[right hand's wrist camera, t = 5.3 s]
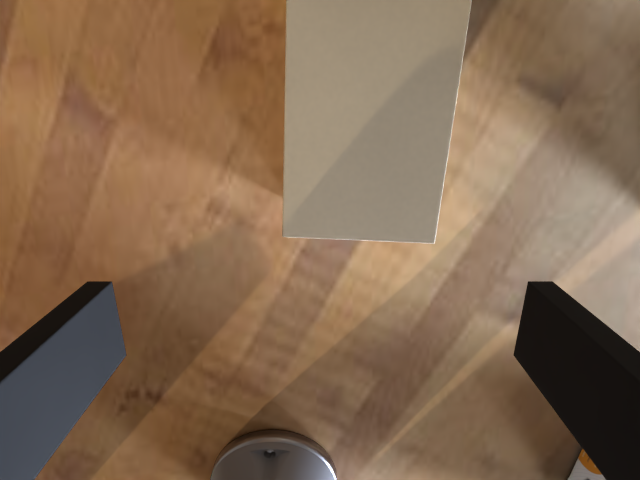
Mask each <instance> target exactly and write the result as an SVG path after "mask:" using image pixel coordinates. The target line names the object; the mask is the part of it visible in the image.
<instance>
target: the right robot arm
mask: <svg viewBox="0 0 640 480" xmlns="http://www.w3.org/2000/svg"><path fill="white" fill-rule="evenodd" d="M125 356H126V351H125V346H124V341H123V336H122V330H121V325H120V320H119V315H118V310H117V305H116V300H115V295H114V290H113V285H112V282H87V283H85V284H84V285H83V286H82V287H80V288H79V289H78V290H77V291H75V292H74V293H73V294H72V295H70V296H69V297H68V298H67V299H65V300H64V301H63V302H62V303H61V304H59V305H58V306H57V307H56V308H54V309H53V310H52V311H51V312H49V313H48V314H47V315H46V316H44V317H43V318H42V319H41V320H39V321H38V322H37V323H36V324H35V325H33V326H32V327H31V328H30V329H28V330H27V331H26V332H25V333H23V334H22V335H21V336H20V337H18V338H17V339H16V340H15V341H14V342H12V343H11V344H10V345H9V346H7V347H6V348H5V349H4V350H2V351H1V352H0V480H34V479H35V478H36V476H37V475H38V474H39V472H40V471H41V470H42V468H43V467H44V466H45V464H46V463H47V462H48V460H49V459H50V458H51V456H52V455H53V453H54V452H55V451H56V449H57V448H58V447H59V445H60V444H61V443H62V441H63V440H64V439H65V437H66V436H67V435H68V433H69V432H70V431H71V429H72V428H73V426H74V425H75V424H76V422H77V421H78V420H79V418H80V417H81V416H82V414H83V413H84V412H85V410H86V409H87V408H88V406H89V405H90V404H91V402H92V401H93V399H94V398H95V397H96V395H97V394H98V393H99V391H100V390H101V389H102V387H103V386H104V385H105V383H106V382H107V381H108V379H109V378H110V377H111V375H112V374H113V372H114V371H115V370H116V368H117V367H118V366H119V364H120V363H121V362H122V360H123V359H124V358H125ZM514 356H515V358H516V359H517V360H518V362H519V363H520V364H521V366H522V367H523V368H524V370H525V371H526V373H527V374H528V375H529V377H530V378H531V379H532V381H533V382H534V383H535V385H536V386H537V387H538V389H539V390H540V391H541V393H542V394H543V395H544V397H545V398H546V399H547V401H548V402H549V404H550V405H551V406H552V408H553V409H554V410H555V412H556V413H557V414H558V416H559V417H560V418H561V420H562V421H563V422H564V424H565V425H566V426H567V428H568V429H569V431H570V432H571V433H572V435H573V436H574V437H575V439H576V440H577V441H578V443H579V444H580V445H581V447H582V448H583V449H584V451H585V452H586V453H587V455H588V456H589V458H590V459H591V460H592V462H593V463H594V464H595V466H596V467H597V468H598V470H599V471H600V472H601V474H602V475H603V476H604V478H605V479H606V480H640V352H639V351H638V350H636V349H635V348H634V347H633V346H631V345H630V344H629V343H628V342H626V341H625V340H624V339H623V338H622V337H620V336H619V335H618V334H617V333H615V332H614V331H613V330H612V329H610V328H609V327H608V326H607V325H605V324H604V323H603V322H602V321H601V320H599V319H598V318H597V317H596V316H594V315H593V314H592V313H591V312H589V311H588V310H587V309H586V308H584V307H583V306H582V305H581V304H579V303H578V302H577V301H576V300H575V299H573V298H572V297H571V296H570V295H568V294H567V293H566V292H565V291H563V290H562V289H561V288H560V287H558V286H557V285H556V284H555V283H553V282H528V285H527V290H526V295H525V300H524V305H523V310H522V315H521V320H520V325H519V330H518V336H517V341H516V346H515V351H514ZM210 480H336V470H335V466H334V463H333V461H332V459H331V458H330V456H329V455H328V453H327V452H326V451H325V450H324V449H323V448H322V447H321V446H320V445H318V444H317V443H315V442H314V441H312V440H311V439H309V438H307V437H305V436H302V435H299V434H297V433H293V432H288V431H282V430H263V431H257V432H252V433H249V434H246V435H243V436H241V437H239V438H237V439H235V440H234V441H232V442H231V443H229V444H228V445H227V446H226V447H225V448H224V449H223V450H222V451H221V452H220V454H219V456H218V457H217V459H216V462H215V464H214V468H213V471H212V475H211V479H210Z"/></svg>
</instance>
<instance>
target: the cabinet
mask: <svg viewBox="0 0 640 480" xmlns="http://www.w3.org/2000/svg"><path fill="white" fill-rule="evenodd" d="M471 3H472V0H286V47H285V108H284V169H283V230H282V236H283V237H295V238H317V239H340V240H363V241H386V242H409V243H431V244H434V243H435V238H436V231H437V225H438V218H439V212H440V205H441V199H442V192H443V185H444V179H445V172H446V166H447V159H448V153H449V146H450V140H451V133H452V127H453V120H454V114H455V107H456V101H457V94H458V88H459V81H460V75H461V68H462V62H463V55H464V49H465V42H466V36H467V29H468V22H469V16H470V9H471Z"/></svg>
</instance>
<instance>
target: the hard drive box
mask: <svg viewBox="0 0 640 480" xmlns="http://www.w3.org/2000/svg"><path fill="white" fill-rule="evenodd" d="M567 480H606V479H605V478H604V476H603V475H602V474H601V472H600V471H599V470H598V468H597V467H596V466H595V464H594V463H593V462H592V460H591V459H590V458H589V456H588V455H587V453H586V452H585V451H584V449H583V448H582V451H581V453H580V455H579V457H578V459H577V461H576V464H575V466H574V468H573V470H572V472H571V475H570V477H569V478H568V479H567Z"/></svg>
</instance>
